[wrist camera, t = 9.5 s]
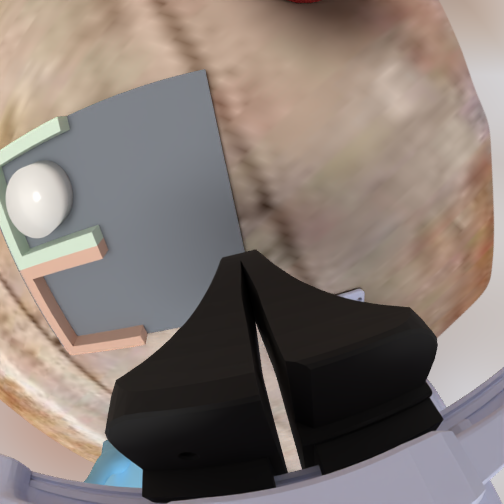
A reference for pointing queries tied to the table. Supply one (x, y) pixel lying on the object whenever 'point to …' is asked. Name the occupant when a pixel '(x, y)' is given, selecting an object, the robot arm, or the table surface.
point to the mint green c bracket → (11, 233)
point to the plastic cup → (304, 1)
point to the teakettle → (115, 469)
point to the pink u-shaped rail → (58, 319)
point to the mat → (142, 206)
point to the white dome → (39, 198)
